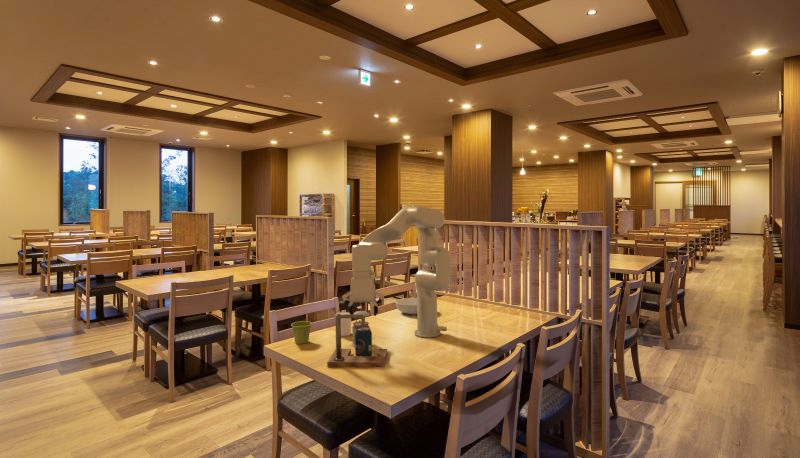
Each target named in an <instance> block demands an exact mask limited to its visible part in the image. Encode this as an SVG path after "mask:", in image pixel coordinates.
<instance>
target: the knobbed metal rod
mask: <svg viewBox="0 0 800 458" xmlns="http://www.w3.org/2000/svg"><path fill="white" fill-rule="evenodd" d="M341 318H351V319H360V320H361V322H362V325H365V322H366V317H363V315H340V314H336V313H335V314H334V319H335V320H334V321H335V349H336V357H334V361H342V360H344V357H342V356H341V349H342V336H341Z"/></svg>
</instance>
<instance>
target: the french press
mask: <svg viewBox="0 0 800 458" xmlns="http://www.w3.org/2000/svg"><path fill="white" fill-rule="evenodd" d="M359 303H360V304H359V305H360V307H359V308H360V310H358V311H355V312H354V315H363V317H365V318H367V317H369V316H370V315H371V314H370V313H369V312H367V311H365V310H362V306H361V305H362V304H361V303H362V302H359ZM352 324H353V326H351V328H352V329H351V331H352V332H351V333H352V343H351V344H350V347H352V348H354V349H355V332H356V328H358V327H369V328H370V329H371V327H370V325H369V324H370V322H368V321H365V325H362V320H361V319H359V320H357V319H356V320H355V321H354V322H353V323H352Z"/></svg>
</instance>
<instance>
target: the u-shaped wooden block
mask: <svg viewBox="0 0 800 458" xmlns="http://www.w3.org/2000/svg"><path fill="white" fill-rule="evenodd" d="M351 354H352V348H341V356H342V357H344V360H342V361H334V357H336V348H335V349H334V350H333V352H332V354H331V356H330V357H329V358H328V360H327V362H326V363H327V366H326V367H327V368H385V363H386V360H387V357H388V348H378V351H377V354H376V355H371V356H356V355H351Z"/></svg>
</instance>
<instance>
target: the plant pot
mask: <svg viewBox="0 0 800 458" xmlns="http://www.w3.org/2000/svg"><path fill="white" fill-rule="evenodd" d="M312 324H313V323H312V322H311V321H309V320H308V321H307V320H300V321H295V322H292V323H291V324H290V326H291V327H292V331H293V338H294V343H295V344H298V345H302V344H308V343H309V341H310V332H311V328H312Z"/></svg>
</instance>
